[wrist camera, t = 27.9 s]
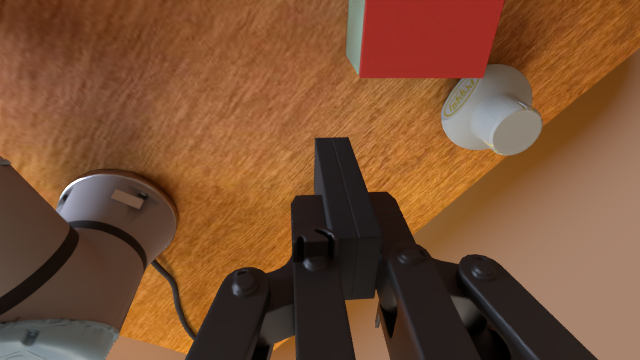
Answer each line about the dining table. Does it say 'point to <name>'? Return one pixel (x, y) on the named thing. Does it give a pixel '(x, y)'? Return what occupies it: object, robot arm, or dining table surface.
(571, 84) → the dining table surface
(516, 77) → the air freshener
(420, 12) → the lid
